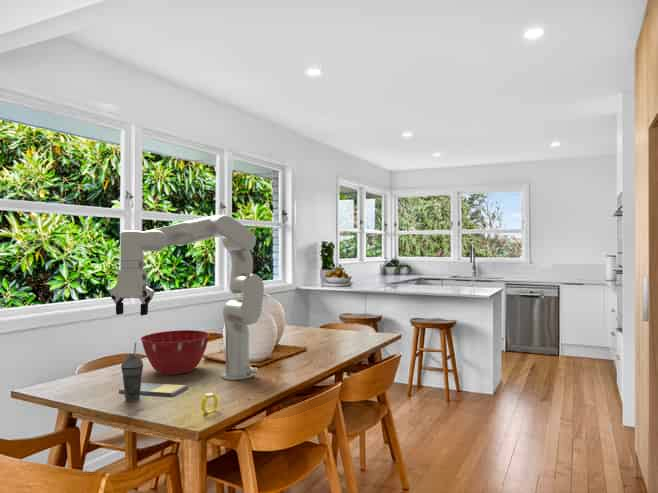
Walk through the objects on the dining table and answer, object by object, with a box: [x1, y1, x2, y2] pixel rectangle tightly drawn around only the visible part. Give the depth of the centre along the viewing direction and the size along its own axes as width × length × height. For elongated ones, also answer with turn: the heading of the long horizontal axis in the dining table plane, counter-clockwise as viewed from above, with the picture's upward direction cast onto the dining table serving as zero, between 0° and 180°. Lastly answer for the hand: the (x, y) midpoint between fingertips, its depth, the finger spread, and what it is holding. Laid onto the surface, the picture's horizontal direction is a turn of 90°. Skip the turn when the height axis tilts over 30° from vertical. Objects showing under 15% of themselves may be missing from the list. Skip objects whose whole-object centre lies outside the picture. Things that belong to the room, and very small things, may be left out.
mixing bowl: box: [140, 329, 210, 376], centre depth 213 cm, size 28×28×16 cm
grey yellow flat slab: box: [118, 382, 188, 397], centre depth 183 cm, size 22×10×1 cm, turn 77°
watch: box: [201, 392, 219, 415], centre depth 158 cm, size 6×3×6 cm, turn 149°
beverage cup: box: [120, 341, 144, 403], centre depth 172 cm, size 7×7×20 cm
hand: (131, 314), depth 172 cm, fingers open, 9 cm apart
